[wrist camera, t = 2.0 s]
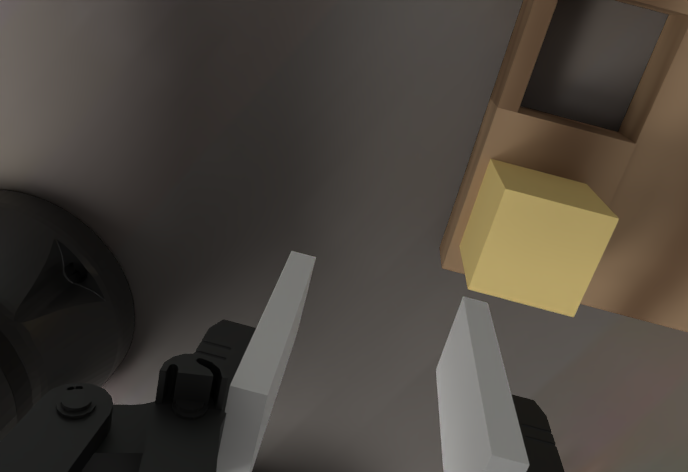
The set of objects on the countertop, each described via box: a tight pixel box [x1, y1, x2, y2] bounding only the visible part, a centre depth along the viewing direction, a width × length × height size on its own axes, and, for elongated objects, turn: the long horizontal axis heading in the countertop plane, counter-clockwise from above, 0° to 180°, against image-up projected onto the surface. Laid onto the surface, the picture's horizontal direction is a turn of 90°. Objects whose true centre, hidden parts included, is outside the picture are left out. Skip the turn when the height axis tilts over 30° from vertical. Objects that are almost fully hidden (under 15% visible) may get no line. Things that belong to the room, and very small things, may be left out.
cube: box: [459, 159, 619, 317], centre depth 28 cm, size 5×5×5 cm
